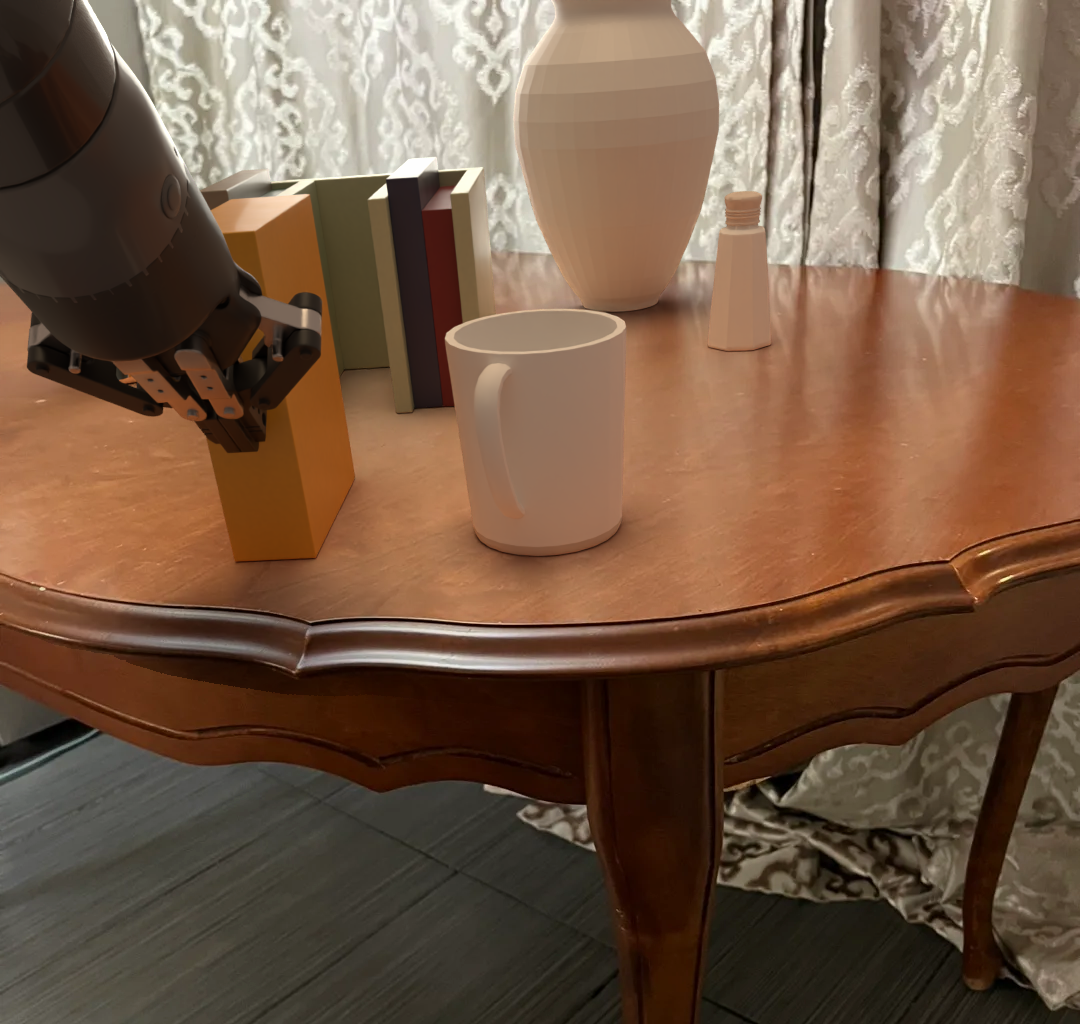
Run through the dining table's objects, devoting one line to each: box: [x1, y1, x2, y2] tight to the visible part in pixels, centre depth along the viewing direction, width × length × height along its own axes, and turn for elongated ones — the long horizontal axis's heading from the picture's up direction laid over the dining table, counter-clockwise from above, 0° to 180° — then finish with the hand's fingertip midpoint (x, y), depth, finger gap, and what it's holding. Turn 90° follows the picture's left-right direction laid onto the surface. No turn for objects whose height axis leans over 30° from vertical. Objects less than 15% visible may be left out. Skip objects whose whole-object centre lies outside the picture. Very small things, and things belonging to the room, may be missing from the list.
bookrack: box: [199, 156, 497, 414], centre depth 82 cm, size 19×14×15 cm
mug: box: [445, 308, 627, 557], centre depth 57 cm, size 11×9×10 cm
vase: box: [512, 0, 720, 313], centre depth 98 cm, size 18×18×25 cm
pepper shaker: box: [707, 190, 772, 352], centre depth 87 cm, size 5×5×11 cm
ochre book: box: [205, 194, 356, 562], centre depth 60 cm, size 4×12×16 cm, turn 178°
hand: (244, 435), depth 55 cm, fingers closed
